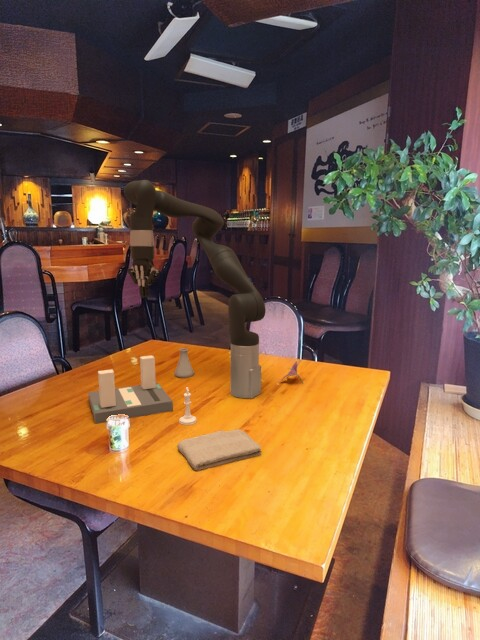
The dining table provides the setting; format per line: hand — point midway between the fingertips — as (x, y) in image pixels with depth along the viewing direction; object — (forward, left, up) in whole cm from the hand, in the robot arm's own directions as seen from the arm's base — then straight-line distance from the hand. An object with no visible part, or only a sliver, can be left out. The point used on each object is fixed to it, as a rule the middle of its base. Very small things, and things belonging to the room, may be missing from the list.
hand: (144, 297), depth 144 cm
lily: (-40, -31, -31) cm, 60 cm away
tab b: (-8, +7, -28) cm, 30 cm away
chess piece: (-30, +15, -31) cm, 46 cm away
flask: (-3, -16, -31) cm, 35 cm away
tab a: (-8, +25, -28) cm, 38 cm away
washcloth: (-48, +24, -32) cm, 62 cm away
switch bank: (-8, +16, -31) cm, 36 cm away
